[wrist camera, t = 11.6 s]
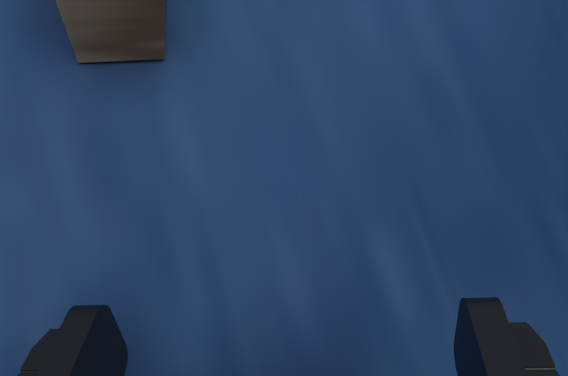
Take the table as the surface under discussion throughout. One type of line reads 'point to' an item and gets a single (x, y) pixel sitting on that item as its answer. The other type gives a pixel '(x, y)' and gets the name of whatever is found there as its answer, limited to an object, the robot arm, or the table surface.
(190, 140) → the table surface
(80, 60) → the brown thin block
